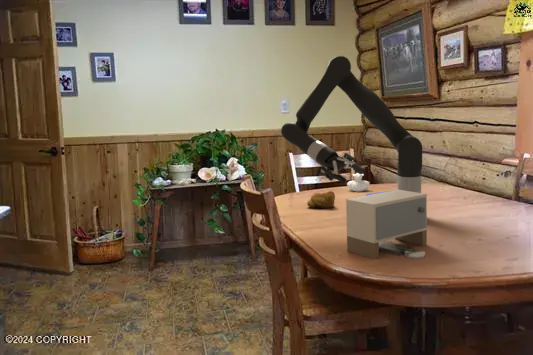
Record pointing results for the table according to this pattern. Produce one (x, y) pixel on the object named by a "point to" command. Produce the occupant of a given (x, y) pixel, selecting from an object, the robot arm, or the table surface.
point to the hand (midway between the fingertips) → (353, 176)
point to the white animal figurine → (358, 183)
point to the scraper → (393, 248)
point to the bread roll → (322, 200)
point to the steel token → (415, 253)
